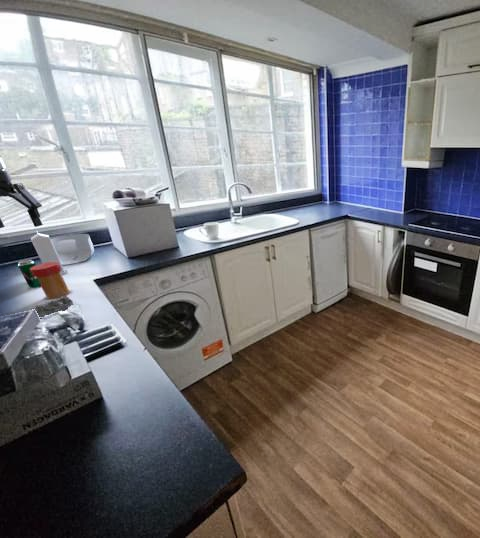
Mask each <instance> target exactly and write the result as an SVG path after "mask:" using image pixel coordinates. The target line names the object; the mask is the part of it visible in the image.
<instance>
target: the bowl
mask: <svg viewBox="0 0 480 538" xmlns="http://www.w3.org/2000/svg"><path fill="white" fill-rule="evenodd" d="M50 240H51V242H52V244H53V246H54V249H55V251H56V253H57V255H58V257H59V260H60V262H61V264H62V266H65V265H71V264H76V263H81V262H84V261H86V260H88V259H90V258H92V256H93V255H94V253H95V248H94V244H93V242H92V239H91V237H90V234H88V233H76V234H67V235H61V236H56V237H52V238H50Z"/></svg>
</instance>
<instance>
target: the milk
mask: <svg viewBox="0 0 480 538" xmlns="http://www.w3.org/2000/svg"><path fill="white" fill-rule="evenodd" d="M50 239H51V238H50V235H49V234H46V233H40V232H38V231H36V234H34V235H33V236H31V237H30V241H31V243H32V245H33V247H34V249H35V251H36V253H37V256H38V258H39V260H40V262H41V264H44V263H50V262H58V263H59V265H60V267H61V271H60V272H61V275H62V276H63V275H66V271H65V269H64V265H62V264H61V262H60V260H59V257H58V255H57V253H56V251H55V249H54V246H53V244H52V242H51V240H50Z"/></svg>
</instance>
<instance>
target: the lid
mask: <svg viewBox="0 0 480 538" xmlns="http://www.w3.org/2000/svg"><path fill="white" fill-rule="evenodd" d="M30 271H31V273H32V275H33V276H34V277H41V276H47V275H51V274H55V273H57V272H59V271H61V267H60V265H59V263H58V262H50V263H44V264H42V263H40V264H36V266H33V267H31V268H30Z"/></svg>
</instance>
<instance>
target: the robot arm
mask: <svg viewBox="0 0 480 538" xmlns="http://www.w3.org/2000/svg"><path fill="white" fill-rule="evenodd" d="M6 169H7V167H6V164H5V161H4V160H3V158H2V156H1V155H0V198H1V197H9V198H12V199H14V200H15V201H16V202H18V203H19V204H21V205H22V206H24V207H25V208H27V210H26V211H27V213H28V216H29V217H30V220H31V222H32V224H33V226H34V228H38V227H41V226H43V223H42V220H41V214H40V212H39V210H38V209H39V208H42V207H43V205H42V203H41V202H40V201H39V200H38V199H36V198H35V196H33V194H31V193H30V191H28V189H26V188H25V186H24V184H23V183H21V182H17V183H12V177H11V175H10V172H9V171H7V170H6ZM5 227H6V226H5V224H4V223H3V221H2V219H1V218H0V229H2V228H5Z"/></svg>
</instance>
